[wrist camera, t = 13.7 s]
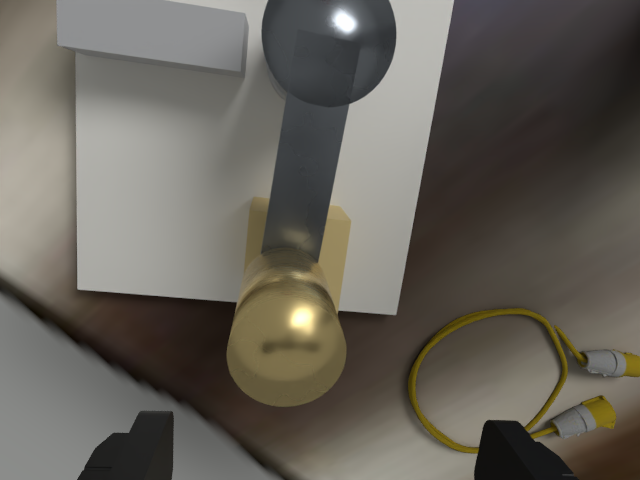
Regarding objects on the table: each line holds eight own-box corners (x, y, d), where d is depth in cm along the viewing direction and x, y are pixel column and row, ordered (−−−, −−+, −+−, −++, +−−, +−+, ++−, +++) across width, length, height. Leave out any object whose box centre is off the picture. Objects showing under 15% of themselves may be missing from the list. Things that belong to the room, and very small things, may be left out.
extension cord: (546, 482, 34) (562, 504, 32) (375, 408, 31) (381, 427, 29) (642, 356, 32) (665, 371, 30) (469, 262, 29) (482, 273, 27)
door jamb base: (486, -214, 22) (562, -334, 16) (392, 308, 29) (421, 355, 23) (81, -311, 19) (-1, -494, 14) (84, 283, 26) (30, 328, 21)
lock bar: (273, -37, 17) (271, -152, 10) (395, -7, 18) (477, -93, 11) (224, 301, 21) (196, 397, 13) (328, 315, 21) (355, 414, 14)
